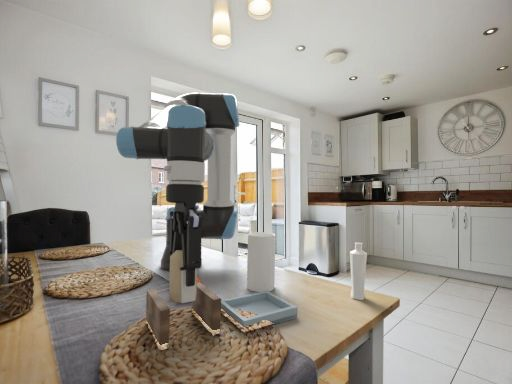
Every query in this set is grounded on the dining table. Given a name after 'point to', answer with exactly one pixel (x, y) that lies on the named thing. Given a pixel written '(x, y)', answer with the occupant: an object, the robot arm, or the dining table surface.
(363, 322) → the dining table surface
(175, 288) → the candle
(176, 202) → the robot arm
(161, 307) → the cradle
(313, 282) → the dining table surface
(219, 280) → the dining table surface
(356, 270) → the perfume bottle
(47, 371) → the dining table surface
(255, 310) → the tray
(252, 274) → the white tall cylinder
